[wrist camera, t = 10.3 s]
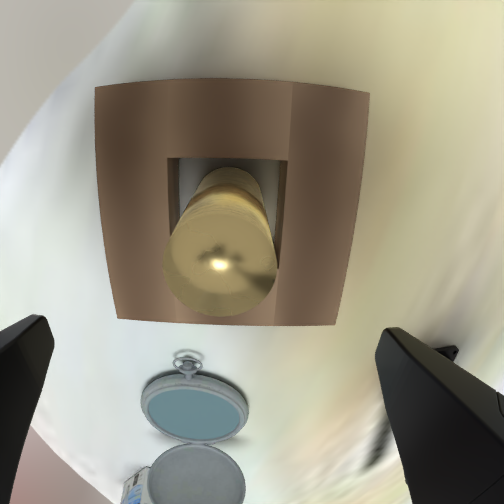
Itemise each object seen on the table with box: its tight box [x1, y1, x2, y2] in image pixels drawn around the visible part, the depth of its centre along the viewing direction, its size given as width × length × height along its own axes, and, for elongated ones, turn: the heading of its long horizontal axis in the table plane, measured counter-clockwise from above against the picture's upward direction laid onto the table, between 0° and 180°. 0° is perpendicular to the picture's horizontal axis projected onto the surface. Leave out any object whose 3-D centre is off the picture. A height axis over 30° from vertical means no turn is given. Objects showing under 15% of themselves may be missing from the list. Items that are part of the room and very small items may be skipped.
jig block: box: [95, 78, 370, 326], centre depth 18 cm, size 14×14×3 cm
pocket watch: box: [141, 357, 249, 504], centre depth 22 cm, size 10×11×15 cm
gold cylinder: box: [162, 167, 277, 317], centre depth 15 cm, size 4×4×9 cm
